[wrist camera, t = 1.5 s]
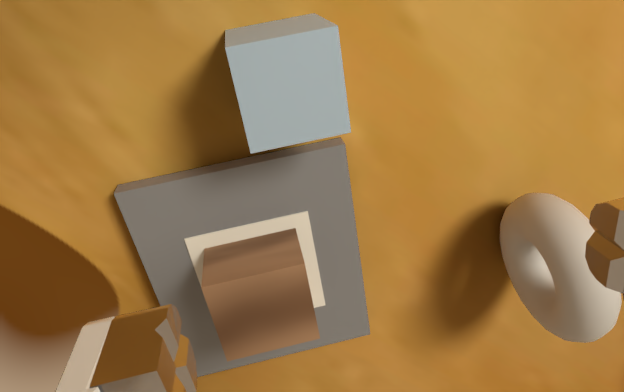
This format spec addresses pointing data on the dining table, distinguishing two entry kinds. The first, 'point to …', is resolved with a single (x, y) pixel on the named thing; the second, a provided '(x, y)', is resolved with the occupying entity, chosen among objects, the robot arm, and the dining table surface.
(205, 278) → the walnut block
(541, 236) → the donut
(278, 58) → the blue block
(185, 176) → the plate
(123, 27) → the dining table surface
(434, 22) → the dining table surface
